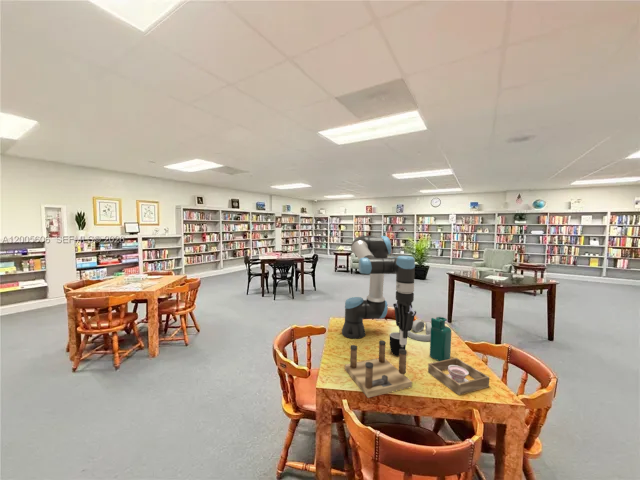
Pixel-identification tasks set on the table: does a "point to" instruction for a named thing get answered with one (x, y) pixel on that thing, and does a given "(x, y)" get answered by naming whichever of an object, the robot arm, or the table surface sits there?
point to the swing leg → (369, 377)
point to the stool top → (376, 373)
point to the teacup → (457, 373)
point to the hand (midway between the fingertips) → (403, 344)
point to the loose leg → (402, 361)
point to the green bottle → (440, 339)
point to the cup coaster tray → (458, 388)
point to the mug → (395, 343)
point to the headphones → (418, 327)
